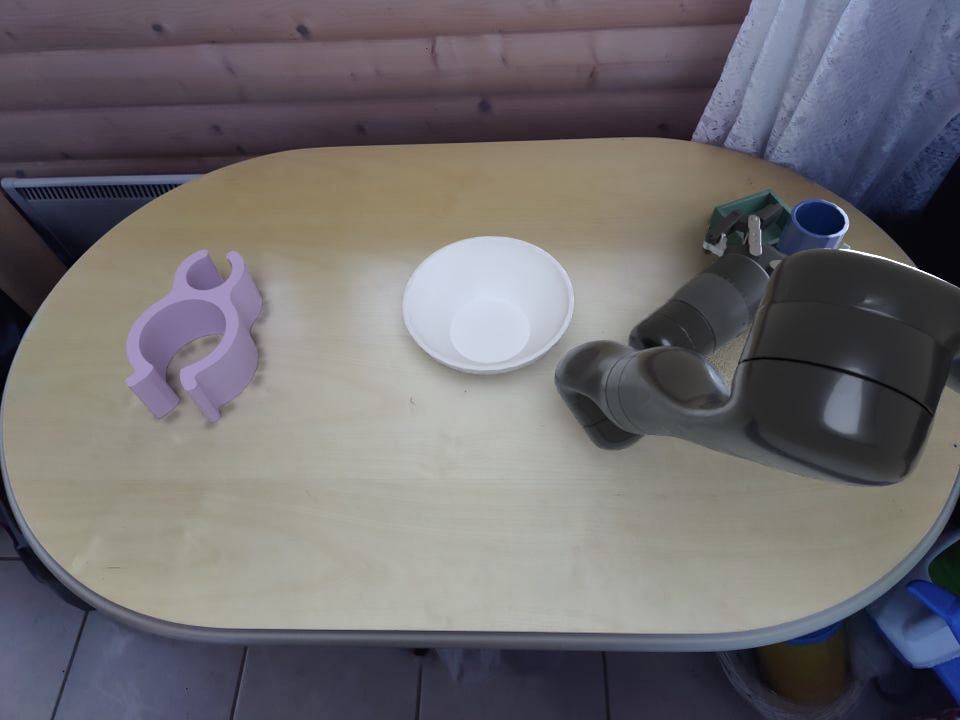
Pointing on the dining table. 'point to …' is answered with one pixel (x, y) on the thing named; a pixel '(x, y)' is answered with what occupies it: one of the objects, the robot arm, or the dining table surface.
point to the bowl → (488, 304)
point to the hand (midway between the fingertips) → (811, 229)
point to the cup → (813, 227)
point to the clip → (197, 336)
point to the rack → (752, 207)
